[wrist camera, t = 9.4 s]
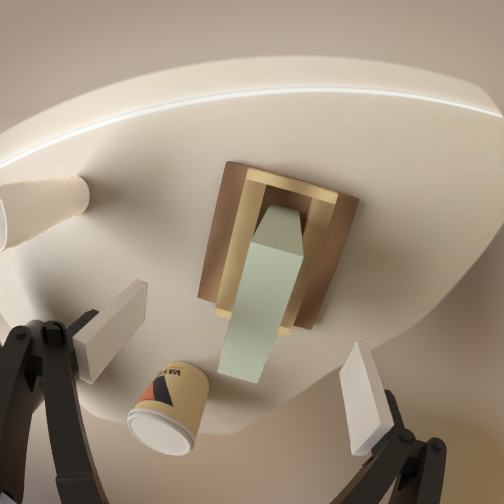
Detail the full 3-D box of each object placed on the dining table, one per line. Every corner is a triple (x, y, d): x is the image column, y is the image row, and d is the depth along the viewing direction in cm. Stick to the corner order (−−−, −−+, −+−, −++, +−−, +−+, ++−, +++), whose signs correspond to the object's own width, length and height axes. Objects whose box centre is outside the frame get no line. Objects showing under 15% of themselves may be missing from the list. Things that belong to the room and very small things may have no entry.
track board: (200, 293, 35) (190, 307, 31) (228, 161, 29) (220, 161, 26) (310, 324, 34) (311, 342, 30) (356, 197, 28) (364, 203, 25)
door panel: (247, 289, 32) (216, 372, 19) (270, 203, 29) (250, 241, 16) (272, 296, 32) (257, 383, 19) (299, 211, 29) (303, 256, 15)
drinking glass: (65, 220, 34) (-14, 253, 20) (60, 174, 32) (-24, 192, 18) (98, 217, 33) (13, 253, 19) (93, 166, 31) (2, 182, 17)
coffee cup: (186, 347, 38) (152, 408, 26) (227, 390, 39) (208, 452, 28) (147, 367, 41) (112, 419, 29) (185, 405, 42) (161, 459, 31)
